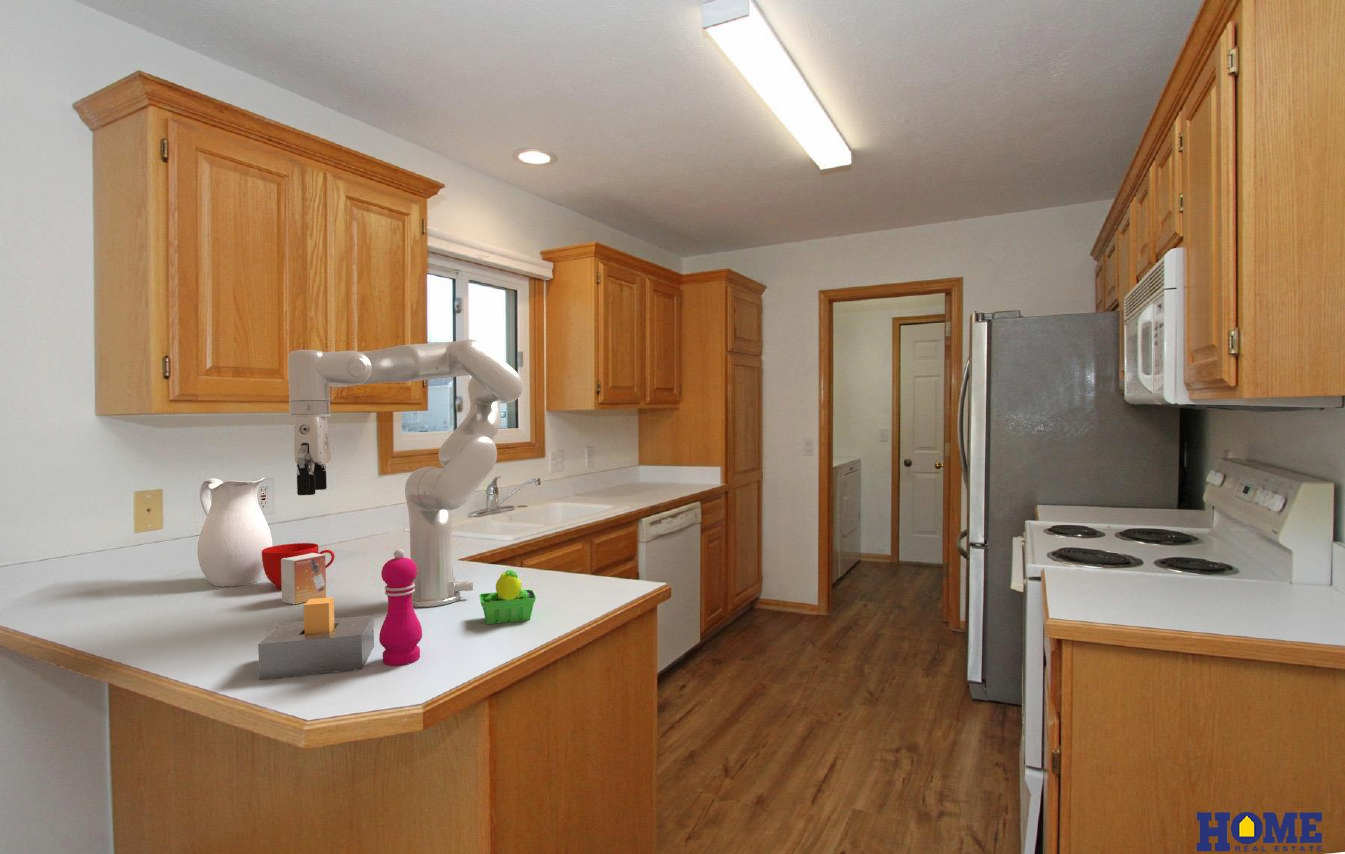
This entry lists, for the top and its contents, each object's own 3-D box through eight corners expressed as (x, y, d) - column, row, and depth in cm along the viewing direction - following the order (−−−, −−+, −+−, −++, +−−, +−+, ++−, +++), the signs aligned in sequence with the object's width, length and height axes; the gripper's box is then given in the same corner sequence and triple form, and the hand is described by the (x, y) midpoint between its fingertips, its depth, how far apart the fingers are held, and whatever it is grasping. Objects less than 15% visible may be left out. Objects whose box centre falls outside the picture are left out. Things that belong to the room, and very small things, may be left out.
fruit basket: (532, 611, 152) (531, 560, 152) (537, 622, 144) (536, 569, 144) (479, 616, 149) (478, 565, 149) (481, 629, 140) (480, 574, 140)
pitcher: (285, 578, 186) (283, 476, 186) (218, 593, 172) (214, 482, 171) (241, 569, 199) (238, 473, 198) (174, 581, 185) (171, 478, 184)
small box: (294, 605, 160) (293, 560, 159) (281, 602, 163) (280, 558, 162) (327, 597, 166) (326, 554, 166) (314, 594, 169) (312, 552, 169)
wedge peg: (335, 656, 125) (333, 597, 125) (330, 664, 121) (328, 602, 121) (311, 659, 124) (309, 599, 124) (305, 667, 120) (303, 604, 120)
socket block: (374, 646, 130) (373, 615, 130) (362, 669, 119) (361, 634, 119) (280, 655, 126) (279, 623, 126) (259, 679, 115) (258, 644, 115)
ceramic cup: (328, 589, 174) (327, 550, 174) (254, 594, 171) (253, 554, 170) (340, 577, 187) (340, 540, 187) (272, 581, 183) (271, 544, 183)
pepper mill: (387, 653, 127) (384, 545, 126) (427, 651, 127) (425, 544, 127) (373, 668, 119) (371, 553, 119) (416, 666, 120) (413, 552, 119)
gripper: (320, 409, 135) (322, 496, 135) (338, 410, 152) (340, 487, 152) (277, 410, 133) (280, 498, 133) (301, 410, 150) (303, 488, 150)
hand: (312, 492), depth 143 cm, fingers open, 9 cm apart
